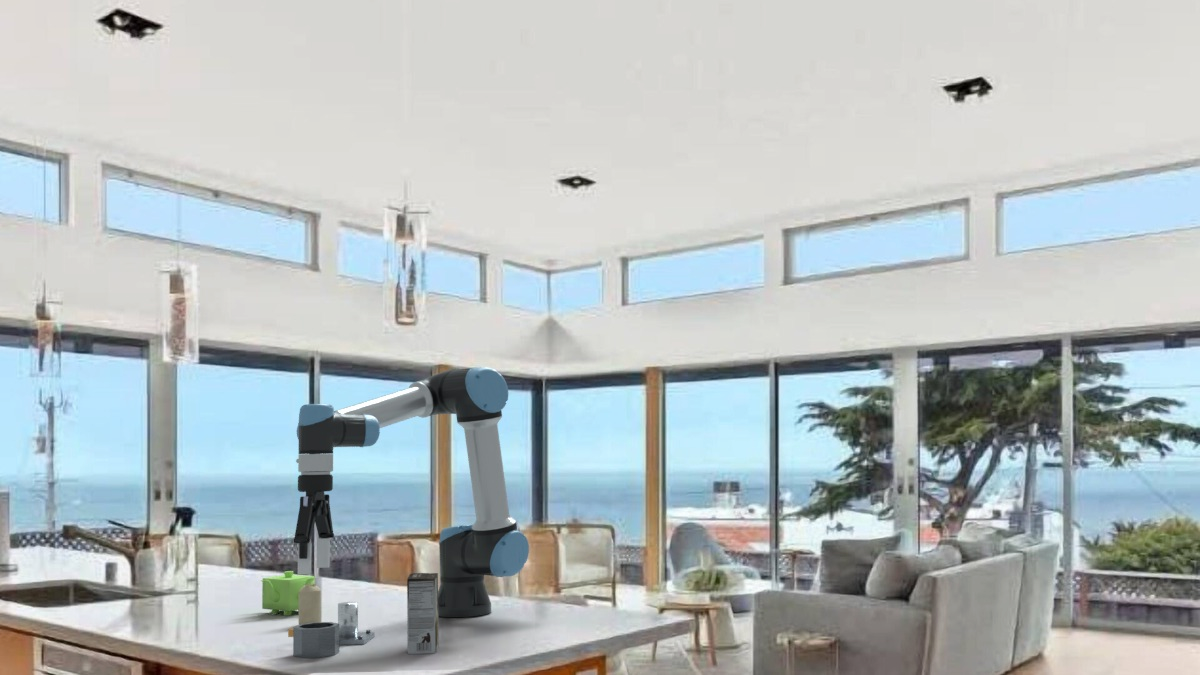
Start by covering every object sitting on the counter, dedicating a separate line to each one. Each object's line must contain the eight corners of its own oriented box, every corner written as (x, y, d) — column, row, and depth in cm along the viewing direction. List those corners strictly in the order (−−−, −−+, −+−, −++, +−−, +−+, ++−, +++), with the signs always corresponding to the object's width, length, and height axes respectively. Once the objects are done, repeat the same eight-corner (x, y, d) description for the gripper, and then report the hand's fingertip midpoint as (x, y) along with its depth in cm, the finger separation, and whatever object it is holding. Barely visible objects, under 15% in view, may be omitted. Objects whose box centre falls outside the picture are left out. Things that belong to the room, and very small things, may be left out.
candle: (314, 626, 271) (314, 586, 272) (294, 626, 272) (294, 586, 273) (324, 622, 277) (324, 583, 278) (304, 622, 278) (304, 583, 279)
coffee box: (410, 646, 241) (409, 573, 243) (439, 645, 242) (438, 572, 243) (406, 654, 232) (405, 578, 234) (436, 653, 233) (436, 577, 234)
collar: (342, 649, 240) (342, 621, 240) (331, 657, 231) (331, 628, 231) (295, 650, 240) (295, 622, 241) (282, 658, 231) (282, 629, 232)
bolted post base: (374, 636, 255) (374, 599, 256) (364, 644, 245) (364, 606, 246) (332, 637, 255) (332, 600, 256) (320, 645, 245) (320, 607, 246)
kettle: (315, 615, 290) (315, 572, 291) (260, 619, 286) (260, 575, 287) (315, 607, 304) (315, 566, 305) (263, 610, 301) (263, 569, 302)
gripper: (315, 472, 253) (314, 565, 251) (279, 474, 228) (278, 577, 226) (347, 472, 253) (346, 564, 250) (315, 474, 228) (313, 576, 225)
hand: (314, 571), depth 238 cm, fingers open, 13 cm apart
